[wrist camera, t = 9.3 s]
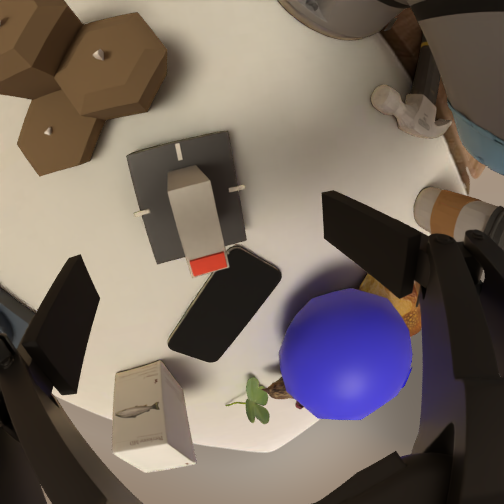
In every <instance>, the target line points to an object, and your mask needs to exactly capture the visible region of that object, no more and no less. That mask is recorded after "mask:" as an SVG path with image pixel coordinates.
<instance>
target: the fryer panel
mask: <svg viewBox="0 0 504 504" xmlns="http://www.w3.org/2000/svg"><path fill="white" fill-rule="evenodd" d="M127 161H128V165H129V169H130V173H131V177H132V181H133V185H134V189H135V193H136V197H137V200H138V204H139V208H140V211H138V212H135V213H134V217H137V216H141V215H142V218H143V221H144V225H145V228H146V231H147V235H148V238H149V241H150V244H151V247H152V251H153V254H154V257H155V260H156V263H157V264H160V263H164V262H168V261H171V260H175V259H179V258H182V257H185V253H184V250H183V247H182V243H181V240H180V236H179V233H178V229H177V226H176V222H175V218H174V215H173V211H172V207H171V203H170V200H169V196H168V172H170V171H174V170H178V169H182V168H185V167H189V166H193V165H197V167H198V168H199V169H200V170H201V171H202V172H203V173H204V174H205V175H206V176H207V178H208V179H209V180H210V181H211V186H212V191H213V195H214V200H215V205H216V209H217V214H218V219H219V223H220V228H221V232H222V237H223V241H224V245H225V246H227V245H231V244H235V243H238V242H242V241H246V240H247V239H246V233H245V227H244V221H243V216H242V210H241V204H240V198H239V192H238V190H242V189H245V185H240V186H237V181H236V175H235V169H234V163H233V158H232V152H231V146H230V140H229V134H228V131H221V132H215V133H210V134H205V135H201V136H196V137H191V138H187V139H183V140H178V141H174V142H170V143H166V144H162V145H158V146H155V147H151V148H147V149H144V150H140V151H137V152H133V153H131V154H129V155H127Z"/></svg>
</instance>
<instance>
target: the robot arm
mask: <svg viewBox="0 0 504 504" xmlns="http://www.w3.org/2000/svg"><path fill="white" fill-rule="evenodd" d="M278 1H279V2H280V4H281V5H282V6H283V7H284V8H285V9H286V10H287V11H288V12H289V13H290V14H291V15H292V16H294V17H295V18H296V19H297V20H299V21H300V22H301V23H303V24H305V25H306V26H308V27H309V28H311V29H313V30H315V31H317V32H319V33H321V34H324V35H326V36H329V37H333V38H337V39H342V40H357V39H362V38H365V37H368V36H371V35H374V34H376V33H377V32H379V31H381V30H382V29H383V28H384V27H385V26H386V25H387V24H388V23H389V22H390V23H389V24H388V26H387V27H386V29H385V30H384V31H387V30H390V29H391V27H392V26H393V24H394V23H395V21H396V20H397V18H395V17H396V16H397V15H398V14H399V13H401V12H402V11H403V10H404V9H406V8H410V7H411V9H412V11H413V13H414V15H415V17H416V19H417V21H418V23H419V25H420V27H421V29H422V31H423V34H424V36H425V38H426V40H427V42H428V45H429V47H430V50H431V52H432V54H433V57H434V59H435V62H436V65H437V67H438V70H439V73H440V76H441V79H442V81H443V84H444V88H445V91H446V94H447V101H448V102H447V103H448V106H449V108H450V110H451V111H452V113H453V117H454V120H455V123H456V127H457V130H458V134H459V137H460V140H461V142H462V144H463V145H464V147H465V148H466V150H467V151H468V152H469V153H470V154H471V155H472V156H473V157H474V158H475V159H477V160H478V161H479V162H480V163H482V164H484V165H486V166H488V168H490V169H491V170H493V171H495V172H497V173H499V174H501V175H504V0H278ZM322 206H323V225H324V239H326V240H327V241H328V242H329V243H331V244H332V245H333V246H335V247H336V248H337V249H339V250H340V251H341V252H342V253H344V254H345V255H346V256H347V257H349V258H350V259H351V260H352V261H354V262H355V263H356V264H358V265H359V266H360V267H361V268H362V269H364V270H365V271H366V272H367V273H369V274H370V275H371V276H372V277H374V278H375V279H376V280H377V281H378V282H380V283H381V284H382V285H383V286H384V287H386V288H387V289H388V290H389V291H390V292H392V293H393V294H394V295H395V296H396V297H398V298H399V299H401V298H403V297H405V296H407V295H409V294H411V293H412V291H413V286H414V281H416V282H418V283H419V284H420V289H419V293H418V298H417V302H416V307H418V304H419V303H420V311H421V325H422V346H423V383H422V405H421V418H420V428H419V433H418V436H417V438H416V441H415V443H414V446H413V449H412V453H411V454H410V455H406V456H402V457H400V456H399V455H398V453H397V452H396V451H395V452H394V453H392V454H390V455H388V456H387V457H385V458H383V459H382V460H380V461H378V462H376V463H374V464H373V465H371V466H369V467H367V468H365V469H363V470H361V471H359V472H357V473H356V474H355V475H354V476H353V477H351V478H350V479H349V480H347V481H346V482H345V483H343V484H342V485H341V486H340V487H338V488H337V489H336V490H334V491H333V492H331V493H330V494H329V495H327V496H326V497H324V498H323V499H321V500H320V501H318V502H316V503H313V504H504V251H503V250H502V249H501V248H500V247H499V246H498V245H497V244H496V243H495V242H494V241H493V240H492V239H491V238H490V237H489V236H488V235H487V234H485V233H483V232H482V231H480V230H477V229H474V230H467V231H465V237H464V241H461V242H456V240H455V239H454V238H453V237H451V236H448V235H446V234H440V233H435V234H431V235H430V236H427V235H425V234H423V233H421V232H420V231H418V230H416V229H414V228H412V227H410V226H408V225H406V224H404V223H403V222H401V221H399V220H397V219H394V218H392V217H390V216H388V215H386V214H384V213H382V212H379V211H377V210H375V209H373V208H371V207H369V206H367V205H365V204H363V203H361V202H358V201H356V200H354V199H352V198H350V197H347V196H345V195H343V194H341V193H339V192H336V191H334V190H332V191H327V192H322ZM483 269H484V273H485V279H484V282H483V283H482V281H481V280H480V278H481V275H482V272H483ZM99 300H100V297H99V295H98V293H97V291H96V289H95V287H94V284H93V282H92V280H91V278H90V276H89V273H88V271H87V269H86V266H85V264H84V262H83V259H82V257H81V254H80V255H77V256H74V257H71V258H69V259H68V260H67V262H66V263H65V265H64V266H63V268H62V270H61V271H60V273H59V274H58V276H57V278H56V279H55V281H54V282H53V284H52V286H51V288H50V289H49V291H48V293H47V294H46V296H45V298H44V300H43V301H42V303H41V305H40V307H39V309H38V311H37V312H36V314H35V315H34V316H33V318H32V319H31V321H30V323H29V325H28V327H27V329H26V331H25V334H24V335H23V337H22V339H21V341H20V343H19V345H18V348H17V349H16V348H15V347H14V345H13V344H12V342H11V341H10V339H9V338H8V336H7V335H6V334H5V333H0V504H47V502H46V499H45V497H44V494H43V491H42V489H41V486H42V488H43V489H44V491H45V493H46V494H47V496H48V498H49V499H50V501H51V502H52V504H143V503H142V502H140V500H139V499H137V498H136V497H135V496H134V495H133V494H132V493H131V492H130V491H129V490H128V489H127V488H126V487H125V486H124V485H123V484H122V483H121V482H120V481H119V479H117V477H116V476H115V475H114V474H113V473H112V472H111V471H110V470H109V469H108V468H107V466H106V465H105V464H104V463H103V462H102V461H101V459H100V458H99V457H98V456H97V455H96V453H95V452H94V451H93V450H92V449H91V447H90V446H89V445H88V443H87V442H86V441H85V439H84V438H83V437H82V435H81V434H80V433H79V431H78V430H77V429H76V427H75V426H74V425H73V423H72V421H71V420H70V419H69V417H68V416H67V414H66V413H65V411H64V410H63V408H62V406H61V405H60V403H59V402H58V400H57V399H56V398H55V396H54V395H53V394H52V389H53V386H54V387H55V388H56V389H57V390H58V391H59V393H60V394H61V395H70V394H77V389H78V383H79V378H80V373H81V369H82V364H83V360H84V355H85V351H86V347H87V343H88V339H89V335H90V331H91V328H92V324H93V321H94V317H95V314H96V310H97V307H98V304H99ZM500 376H501V377H500ZM40 484H41V485H40Z"/></svg>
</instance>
